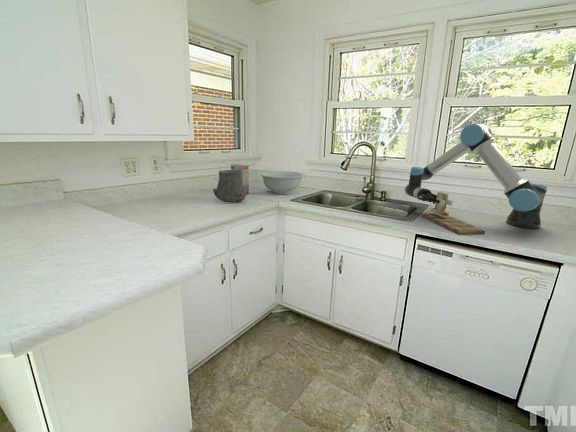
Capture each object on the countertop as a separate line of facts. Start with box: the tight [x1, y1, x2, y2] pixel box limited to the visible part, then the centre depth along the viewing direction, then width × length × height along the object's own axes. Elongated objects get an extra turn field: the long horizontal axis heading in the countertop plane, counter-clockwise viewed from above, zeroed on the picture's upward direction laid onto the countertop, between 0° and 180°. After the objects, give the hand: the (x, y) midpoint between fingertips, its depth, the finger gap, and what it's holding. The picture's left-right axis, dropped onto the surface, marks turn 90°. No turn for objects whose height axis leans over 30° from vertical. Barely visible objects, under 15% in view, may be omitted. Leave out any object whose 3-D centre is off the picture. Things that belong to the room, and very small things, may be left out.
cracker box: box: [230, 163, 250, 195], centre depth 216 cm, size 14×6×21 cm, turn 49°
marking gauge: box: [429, 191, 450, 216], centre depth 165 cm, size 5×11×12 cm, turn 9°
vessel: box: [212, 169, 247, 203], centre depth 190 cm, size 22×22×20 cm
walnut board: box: [420, 212, 486, 236], centre depth 158 cm, size 32×14×2 cm, turn 9°
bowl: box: [260, 170, 304, 195], centre depth 222 cm, size 32×32×15 cm
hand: (447, 203), depth 160 cm, fingers closed on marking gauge, 4 cm apart
